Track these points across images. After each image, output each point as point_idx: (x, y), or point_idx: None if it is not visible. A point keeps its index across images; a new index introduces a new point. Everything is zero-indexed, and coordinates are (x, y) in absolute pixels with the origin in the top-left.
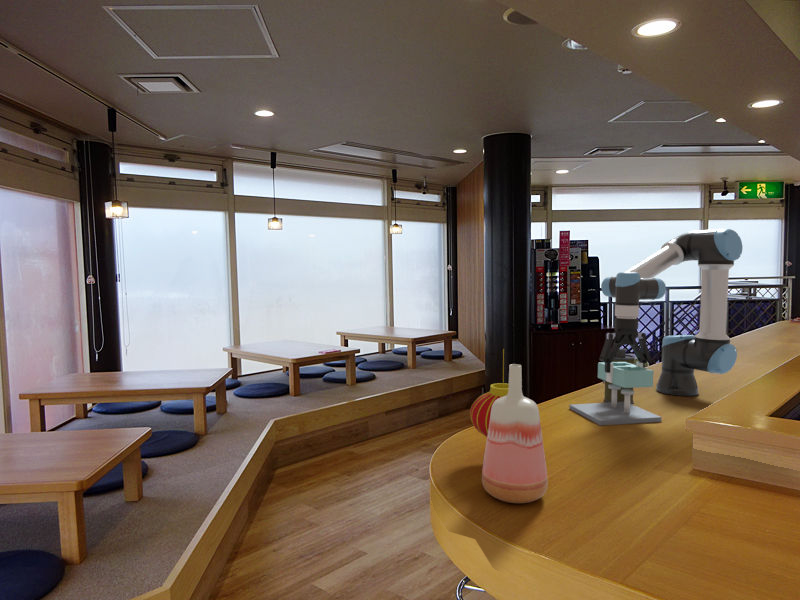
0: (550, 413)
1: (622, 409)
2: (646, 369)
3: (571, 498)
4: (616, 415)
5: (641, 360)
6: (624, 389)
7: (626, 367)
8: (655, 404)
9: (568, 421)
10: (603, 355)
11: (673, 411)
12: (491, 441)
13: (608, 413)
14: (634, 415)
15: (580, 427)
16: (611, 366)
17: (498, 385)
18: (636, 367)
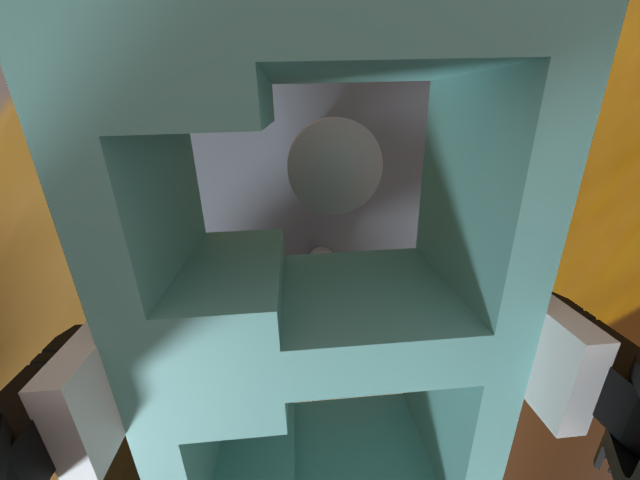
0: (593, 254)
1: (301, 217)
2: (95, 112)
3: None
4: (396, 117)
5: (7, 452)
6: (339, 204)
7: (326, 340)
8: (57, 333)
9: (609, 132)
10: None
11: (9, 216)
12: None
13: (413, 159)
14: (302, 99)
15: (630, 25)
16: (583, 318)
17: None
18: (188, 315)
